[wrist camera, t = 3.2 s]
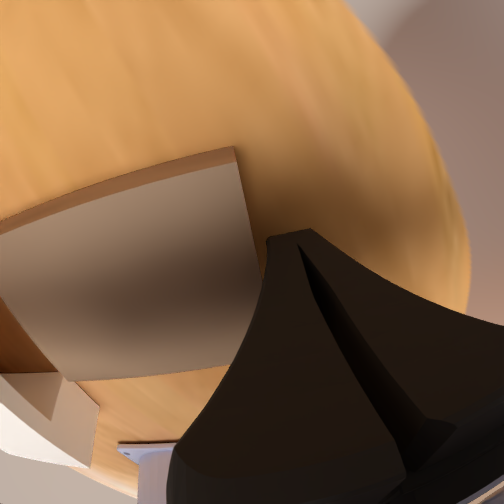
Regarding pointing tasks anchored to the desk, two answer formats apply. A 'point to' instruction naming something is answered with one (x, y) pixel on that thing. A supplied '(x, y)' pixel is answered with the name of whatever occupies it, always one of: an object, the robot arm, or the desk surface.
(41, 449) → the white shelf
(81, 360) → the walnut panel
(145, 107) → the desk surface
